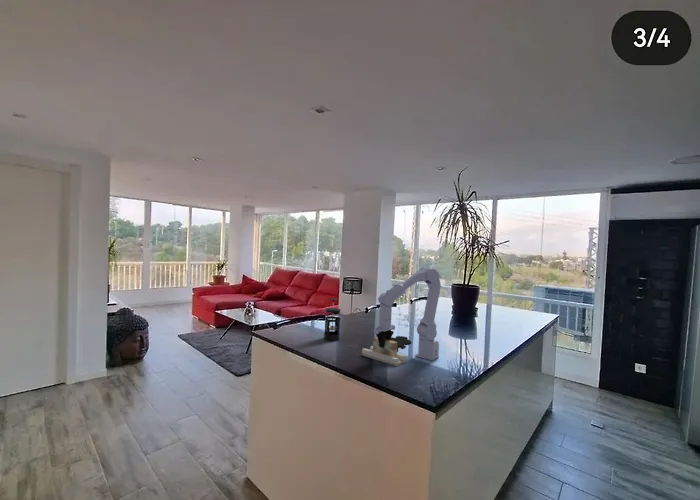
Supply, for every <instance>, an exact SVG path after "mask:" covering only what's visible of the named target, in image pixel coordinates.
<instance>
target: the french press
mask: <svg viewBox="0 0 700 500" xmlns="http://www.w3.org/2000/svg"><path fill="white" fill-rule="evenodd" d="M337 300H338V299H337V298H329V301H332V307H329V308H325V309H324V310H325V313H326V314H327V313H332V315H331V316H330V315H329V316H325V317H324V333H323V340H324V341H327V342H337V341H340V339H341V338H340V336H341V334H340V328H341V326H340V325H341V317H339V316H336V315H340V314H341V311H342V310H341V309H340V308H337V307H334V304H335V301H337ZM334 315H335V316H334Z"/></svg>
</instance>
